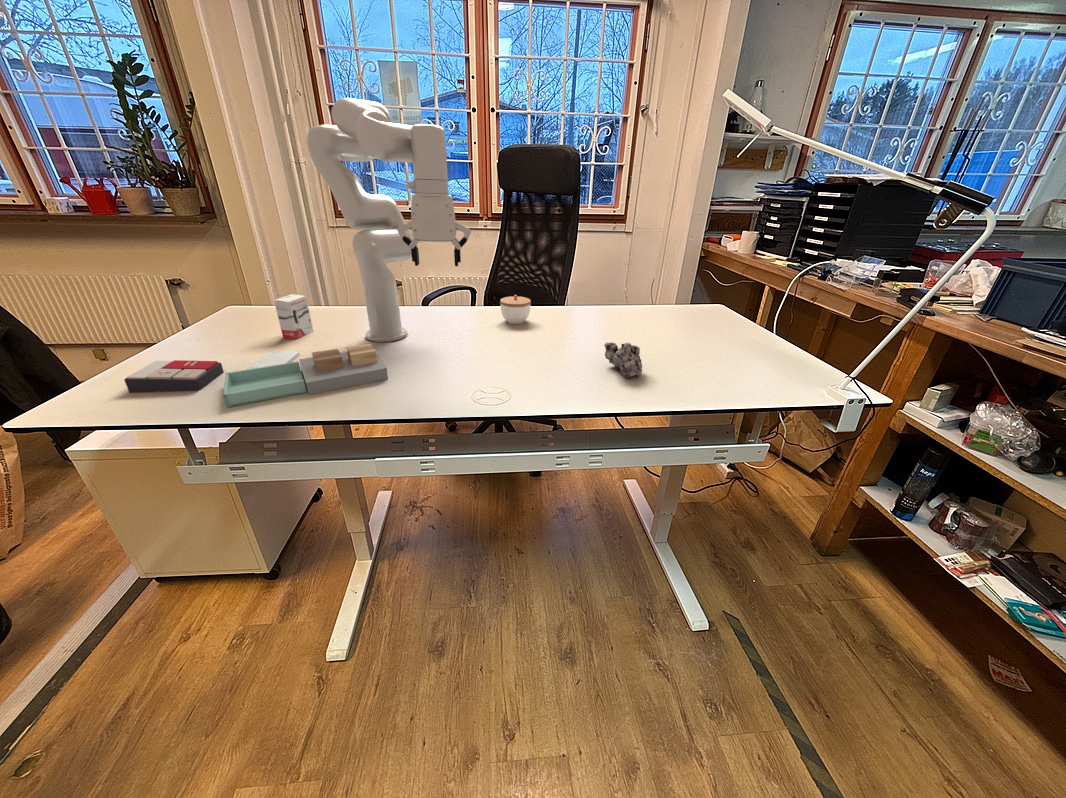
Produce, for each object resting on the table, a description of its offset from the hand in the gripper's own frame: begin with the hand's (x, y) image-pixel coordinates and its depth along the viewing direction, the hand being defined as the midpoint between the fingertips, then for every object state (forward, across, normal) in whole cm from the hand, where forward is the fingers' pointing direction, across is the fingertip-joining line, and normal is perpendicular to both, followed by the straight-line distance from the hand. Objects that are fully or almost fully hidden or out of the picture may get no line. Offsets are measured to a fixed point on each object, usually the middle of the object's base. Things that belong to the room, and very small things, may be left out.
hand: (437, 265), depth 105 cm
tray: (+26, -40, -15) cm, 50 cm away
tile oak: (+23, -20, -6) cm, 31 cm away
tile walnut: (+23, -27, -9) cm, 37 cm away
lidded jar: (+26, +23, +36) cm, 50 cm away
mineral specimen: (+25, +48, -11) cm, 56 cm away
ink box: (+27, -47, +25) cm, 60 cm away
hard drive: (+27, -45, 0) cm, 52 cm away
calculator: (+27, -62, -10) cm, 68 cm away
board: (+26, -24, -8) cm, 36 cm away
